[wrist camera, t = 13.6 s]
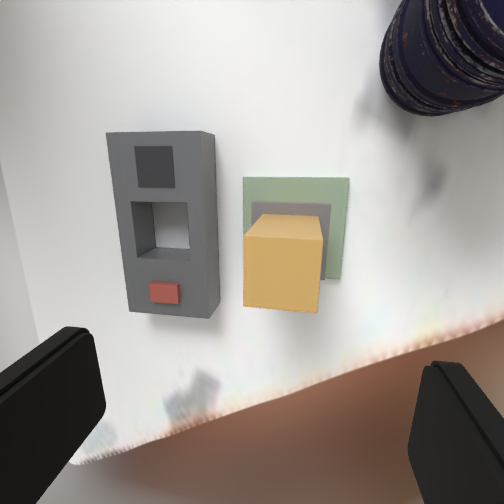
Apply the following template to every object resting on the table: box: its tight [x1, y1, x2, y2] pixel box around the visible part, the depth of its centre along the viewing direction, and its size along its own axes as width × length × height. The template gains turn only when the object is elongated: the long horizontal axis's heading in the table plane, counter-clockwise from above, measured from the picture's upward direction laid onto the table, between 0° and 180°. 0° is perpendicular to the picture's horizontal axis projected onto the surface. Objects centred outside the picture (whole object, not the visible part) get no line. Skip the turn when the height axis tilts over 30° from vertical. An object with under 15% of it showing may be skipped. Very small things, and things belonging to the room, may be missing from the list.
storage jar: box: [379, 0, 504, 116], centre depth 17 cm, size 10×10×15 cm
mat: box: [243, 177, 349, 279], centre depth 30 cm, size 10×10×1 cm
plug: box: [243, 201, 331, 313], centre depth 24 cm, size 6×6×13 cm
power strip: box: [106, 131, 220, 319], centre depth 31 cm, size 18×9×5 cm, turn 179°
